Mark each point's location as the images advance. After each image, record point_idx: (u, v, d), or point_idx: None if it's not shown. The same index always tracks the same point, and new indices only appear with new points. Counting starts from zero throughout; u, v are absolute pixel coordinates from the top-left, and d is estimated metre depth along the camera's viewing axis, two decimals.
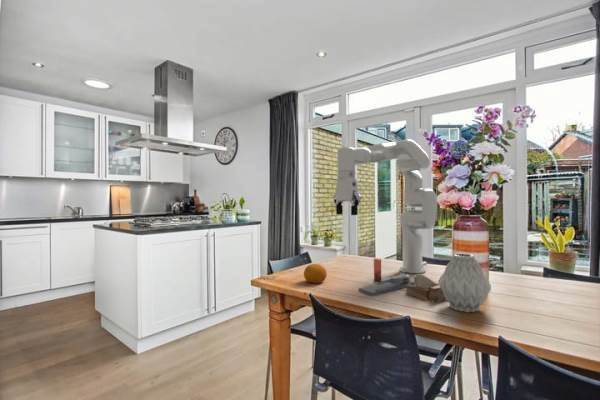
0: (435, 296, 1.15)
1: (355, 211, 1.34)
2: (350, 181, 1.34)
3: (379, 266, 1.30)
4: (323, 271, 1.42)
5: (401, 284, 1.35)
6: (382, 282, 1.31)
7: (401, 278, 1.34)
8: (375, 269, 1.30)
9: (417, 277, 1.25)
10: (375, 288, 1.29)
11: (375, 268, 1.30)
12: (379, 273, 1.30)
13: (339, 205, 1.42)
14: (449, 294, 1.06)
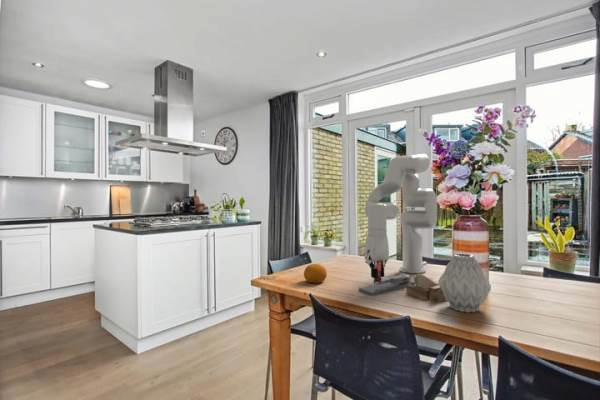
0: (435, 296, 1.15)
1: None
2: None
3: (379, 266, 1.30)
4: (323, 271, 1.42)
5: (401, 284, 1.35)
6: (382, 282, 1.31)
7: (401, 278, 1.34)
8: None
9: (417, 277, 1.25)
10: (375, 288, 1.29)
11: None
12: (379, 273, 1.30)
13: None
14: (449, 294, 1.06)
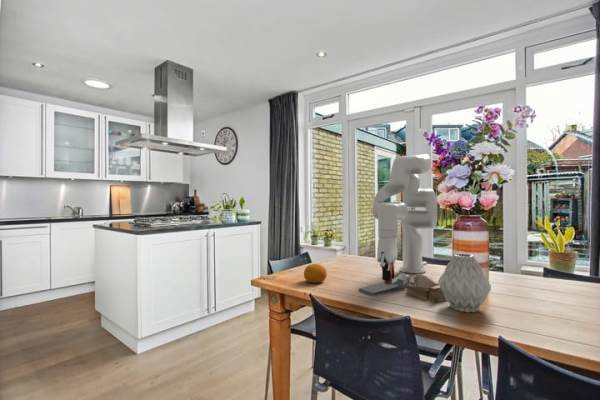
0: (435, 296, 1.15)
1: None
2: None
3: (391, 268, 1.26)
4: (323, 271, 1.42)
5: None
6: (392, 284, 1.28)
7: (406, 278, 1.33)
8: None
9: (417, 277, 1.25)
10: (375, 288, 1.29)
11: None
12: (391, 275, 1.26)
13: None
14: (449, 294, 1.06)
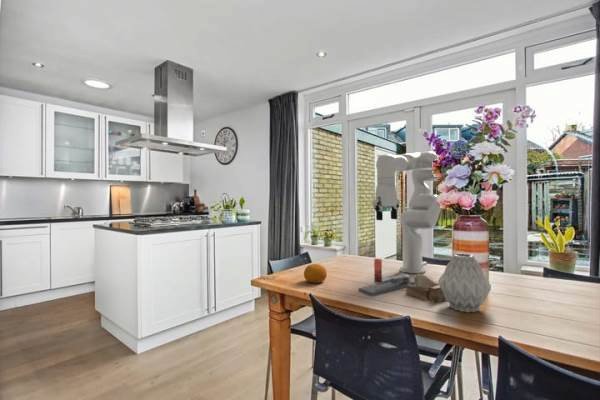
0: (435, 296, 1.15)
1: None
2: None
3: (380, 266, 1.29)
4: (323, 271, 1.42)
5: (401, 284, 1.35)
6: (382, 282, 1.31)
7: (401, 278, 1.34)
8: (376, 269, 1.30)
9: (417, 277, 1.25)
10: (375, 288, 1.29)
11: (376, 268, 1.30)
12: (380, 273, 1.29)
13: None
14: (449, 294, 1.06)
